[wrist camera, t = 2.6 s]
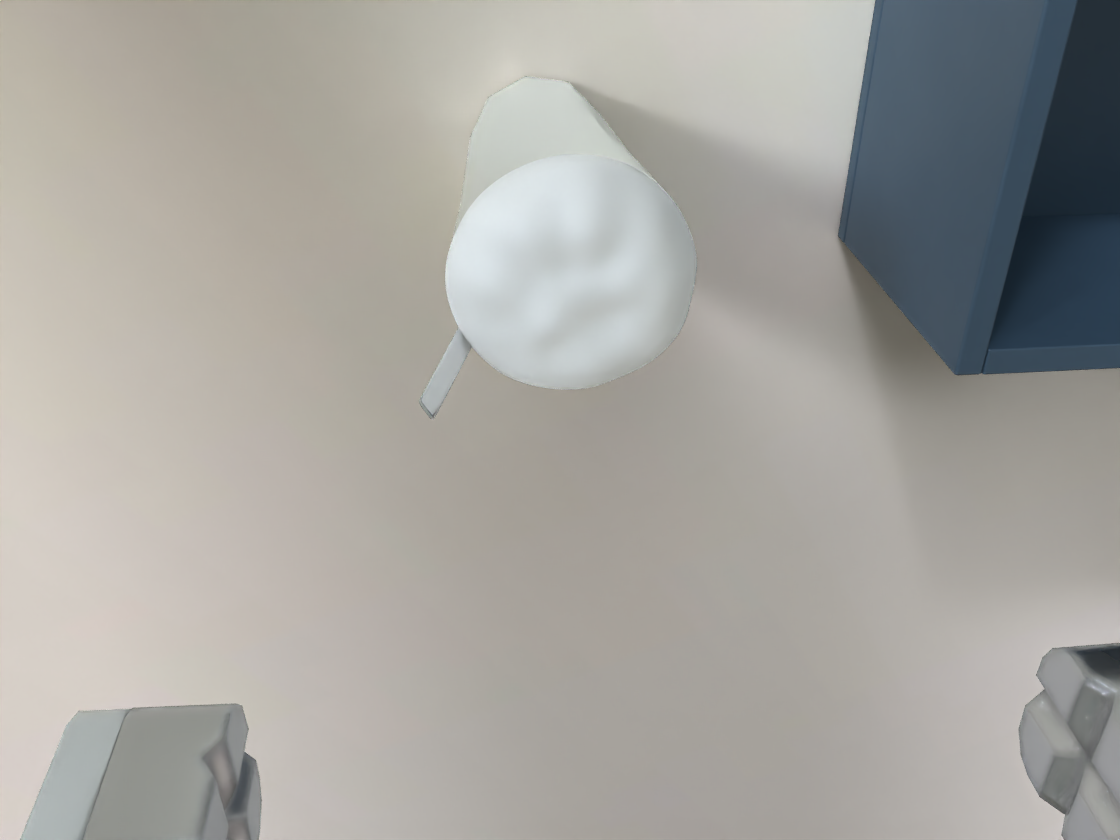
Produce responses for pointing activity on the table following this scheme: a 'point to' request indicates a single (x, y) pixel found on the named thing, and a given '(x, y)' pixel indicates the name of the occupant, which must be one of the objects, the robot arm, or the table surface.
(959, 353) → the tote
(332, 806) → the table surface
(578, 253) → the milkshake
